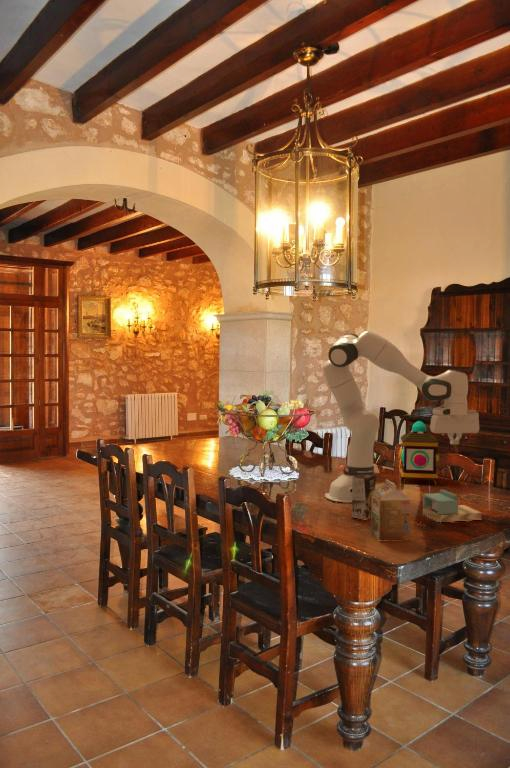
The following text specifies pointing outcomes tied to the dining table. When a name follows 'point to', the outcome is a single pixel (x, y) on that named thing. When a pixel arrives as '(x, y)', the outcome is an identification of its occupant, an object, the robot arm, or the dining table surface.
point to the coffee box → (362, 495)
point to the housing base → (454, 514)
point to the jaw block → (434, 506)
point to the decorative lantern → (418, 454)
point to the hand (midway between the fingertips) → (454, 444)
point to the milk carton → (390, 513)
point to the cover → (442, 502)
